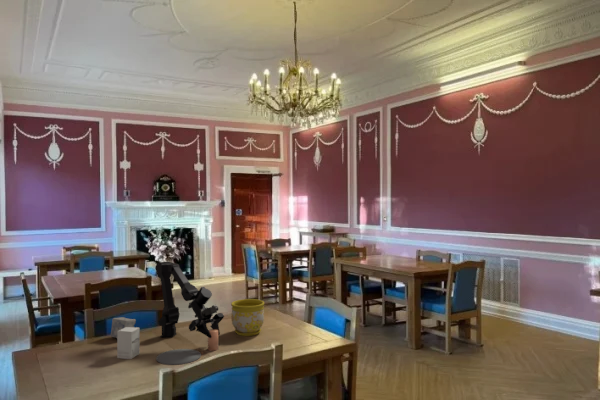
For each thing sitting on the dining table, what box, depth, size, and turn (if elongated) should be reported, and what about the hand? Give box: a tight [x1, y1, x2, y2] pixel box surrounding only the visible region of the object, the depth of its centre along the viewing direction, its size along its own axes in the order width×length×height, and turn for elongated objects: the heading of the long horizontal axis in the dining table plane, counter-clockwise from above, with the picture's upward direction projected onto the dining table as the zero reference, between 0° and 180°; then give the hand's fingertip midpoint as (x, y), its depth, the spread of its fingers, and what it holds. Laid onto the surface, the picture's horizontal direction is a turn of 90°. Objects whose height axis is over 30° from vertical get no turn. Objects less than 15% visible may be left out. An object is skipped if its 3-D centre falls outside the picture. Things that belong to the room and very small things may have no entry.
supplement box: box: [116, 326, 141, 360], centre depth 213 cm, size 7×7×13 cm
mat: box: [156, 348, 202, 366], centre depth 212 cm, size 20×20×1 cm
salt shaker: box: [207, 328, 219, 352], centre depth 223 cm, size 5×5×9 cm
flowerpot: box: [230, 298, 265, 337], centre depth 250 cm, size 18×18×16 cm
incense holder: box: [110, 316, 137, 339], centre depth 241 cm, size 10×8×10 cm
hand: (215, 336), depth 222 cm, fingers closed on salt shaker, 5 cm apart
